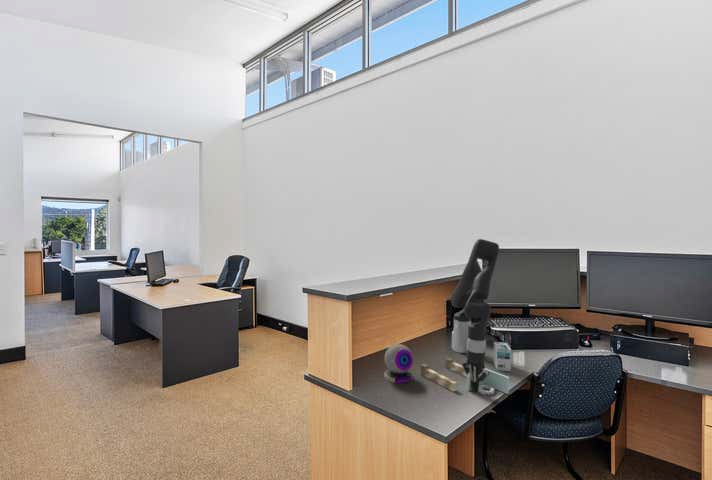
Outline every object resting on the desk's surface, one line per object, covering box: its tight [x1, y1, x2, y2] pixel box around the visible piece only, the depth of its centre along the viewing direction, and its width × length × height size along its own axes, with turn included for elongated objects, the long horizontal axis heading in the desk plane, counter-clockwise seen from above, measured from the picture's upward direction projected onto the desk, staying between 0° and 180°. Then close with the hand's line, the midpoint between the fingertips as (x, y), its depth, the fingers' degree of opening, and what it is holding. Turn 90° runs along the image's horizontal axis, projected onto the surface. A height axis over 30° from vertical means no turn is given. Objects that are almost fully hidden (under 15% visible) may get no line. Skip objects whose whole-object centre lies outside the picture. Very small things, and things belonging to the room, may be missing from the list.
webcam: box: [383, 343, 414, 384], centre depth 170 cm, size 13×13×15 cm
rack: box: [420, 357, 469, 392], centre depth 170 cm, size 20×18×4 cm
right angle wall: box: [466, 367, 510, 396], centre depth 157 cm, size 12×12×8 cm
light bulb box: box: [493, 341, 512, 372], centre depth 184 cm, size 11×7×11 cm, turn 168°
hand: (474, 389), depth 157 cm, fingers closed
